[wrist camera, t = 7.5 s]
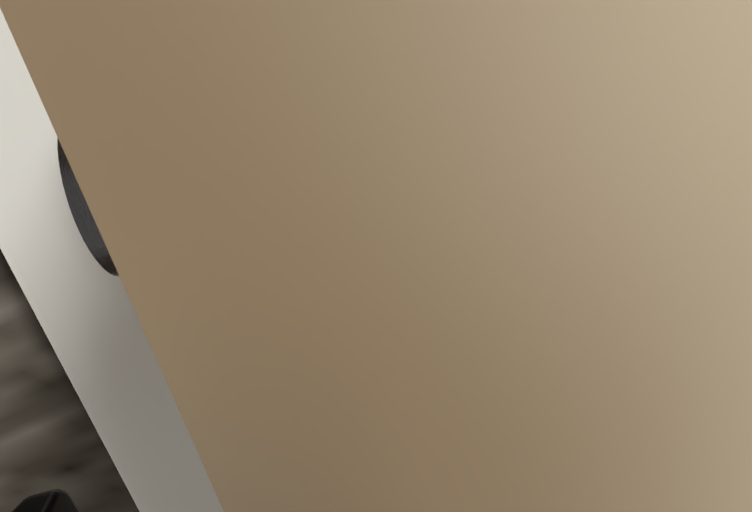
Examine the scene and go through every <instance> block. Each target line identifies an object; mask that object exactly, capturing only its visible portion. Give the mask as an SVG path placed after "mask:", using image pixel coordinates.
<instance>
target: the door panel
mask: <svg viewBox="0 0 752 512" xmlns="http://www.w3.org/2000/svg"><path fill="white" fill-rule="evenodd" d="M0 9H1V11H2V13H3V15H4V18H5V20H6V22H7V24H8V27H9V29H10V31H11V33H12V36H13V38H14V40H15V42H16V45H17V47H18V49H19V51H20V54H21V56H22V58H23V60H24V63H25V65H26V67H27V69H28V72H29V74H30V76H31V78H32V81H33V83H34V85H35V87H36V90H37V92H38V94H39V96H40V99H41V101H42V103H43V105H44V108H45V110H46V112H47V114H48V117H49V119H50V121H51V123H52V126H53V128H54V130H55V132H56V135H57V137H58V138H57V149H58V160H59V167H60V173H61V178H62V183H63V187H64V191H65V194H66V198H67V201H68V204H69V207H70V210H71V213H72V216H73V218H74V221H75V223H76V225H77V228H78V230H79V232H80V234H81V236H82V238H83V240H84V242H85V244H86V246H87V247H88V249H89V251H90V252H91V254H92V255H93V257H94V258H95V259H96V261H97V262H98V263H99V264H100V266H101V267H102V268H103V269H104V270H106V271H107V272H108V273H110V274H112V275H114V276H120V279H121V281H122V283H123V285H124V288H125V290H126V292H127V294H128V297H129V299H130V301H131V303H132V306H133V308H134V310H135V312H136V315H137V317H138V319H139V322H140V324H141V326H142V328H143V331H144V333H145V335H146V337H147V340H148V342H149V344H150V346H151V349H152V351H153V353H154V355H155V358H156V360H157V362H158V364H159V367H160V369H161V371H162V373H163V376H164V378H165V380H166V382H167V385H168V387H169V389H170V391H171V394H172V396H173V398H174V400H175V403H176V405H177V407H178V409H179V412H180V414H181V416H182V418H183V421H184V423H185V425H186V427H187V430H188V432H189V434H190V436H191V439H192V441H193V443H194V445H195V448H196V450H197V452H198V454H199V457H200V459H201V461H202V463H203V466H204V468H205V470H206V472H207V475H208V477H209V479H210V481H211V484H212V486H213V488H214V490H215V493H216V495H217V497H218V499H219V502H220V504H221V506H222V508H223V511H224V512H752V0H0Z"/></svg>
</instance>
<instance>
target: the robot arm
mask: <svg viewBox="0 0 752 512" xmlns="http://www.w3.org/2000/svg"><path fill="white" fill-rule="evenodd" d="M12 512H80V511H79V510H78V508H77V506H76V505H75V503H74V501H73V500H72V498H71V496H70V495H69V494H68V493H67V492H66V491H65V490H62V489H55V490H51V491H47V492H43V493H39V494H35V495H32V496H29V497H27V498H26V499H24V500H23V501H22V502H21V503H20V504H19V505H18V506H17V507H16V508H15V509H14V510H13V511H12Z"/></svg>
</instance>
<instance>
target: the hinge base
mask: <svg viewBox="0 0 752 512" xmlns="http://www.w3.org/2000/svg"><path fill="white" fill-rule="evenodd" d="M57 138H58V137H57V135H56V132H55V130H54V128H53V126H52V123H51V121H50V119H49V117H48V114H47V112H46V110H45V108H44V105H43V103H42V101H41V99H40V96H39V94H38V92H37V90H36V87H35V85H34V83H33V81H32V78H31V76H30V74H29V72H28V69H27V67H26V65H25V63H24V60H23V58H22V56H21V54H20V51H19V49H18V47H17V45H16V42H15V40H14V38H13V36H12V33H11V31H10V29H9V27H8V24H7V22H6V20H5V18H4V15H3V13H2V11H1V9H0V249H1V251H2V253H3V255H4V256H5V258H6V260H7V262H8V264H9V266H10V268H11V270H12V272H13V273H14V275H15V277H16V279H17V281H18V283H19V285H20V287H21V289H22V290H23V292H24V294H25V296H26V298H27V300H28V302H29V304H30V306H31V307H32V309H33V311H34V313H35V315H36V317H37V319H38V321H39V323H40V324H41V326H42V328H43V330H44V332H45V334H46V336H47V338H48V340H49V341H50V343H51V345H52V347H53V349H54V351H55V353H56V355H57V357H58V358H59V360H60V362H61V364H62V366H63V368H64V370H65V372H66V374H67V375H68V377H69V379H70V381H71V383H72V385H73V387H74V389H75V391H76V392H77V394H78V396H79V398H80V400H81V402H82V404H83V406H84V408H85V409H86V411H87V413H88V415H89V417H90V419H91V421H92V423H93V425H94V426H95V428H96V430H97V432H98V434H99V436H100V438H101V440H102V442H103V443H104V445H105V447H106V449H107V451H108V453H109V455H110V457H111V459H112V461H113V462H114V464H115V466H116V468H117V470H118V472H119V474H120V476H121V478H122V479H123V481H124V483H125V485H126V487H127V489H128V491H129V493H130V495H131V496H132V498H133V500H134V502H135V504H136V506H137V508H138V510H139V512H224V511H223V508H222V506H221V504H220V502H219V499H218V497H217V495H216V493H215V490H214V488H213V486H212V484H211V481H210V479H209V477H208V475H207V472H206V470H205V468H204V466H203V463H202V461H201V459H200V457H199V454H198V452H197V450H196V448H195V445H194V443H193V441H192V439H191V436H190V434H189V432H188V430H187V427H186V425H185V423H184V421H183V418H182V416H181V414H180V412H179V409H178V407H177V405H176V403H175V400H174V398H173V396H172V394H171V391H170V389H169V387H168V385H167V382H166V380H165V378H164V376H163V373H162V371H161V369H160V367H159V364H158V362H157V360H156V358H155V355H154V353H153V351H152V349H151V346H150V344H149V342H148V340H147V337H146V335H145V333H144V331H143V328H142V326H141V324H140V322H139V319H138V317H137V315H136V312H135V310H134V308H133V306H132V303H131V301H130V299H129V297H128V294H127V292H126V290H125V288H124V285H123V283H122V281H121V279H120V276H114V275H112V274H110V273H108V272H107V271H106V270H104V269H103V268H102V267H101V266H100V264H99V263H98V262H97V261H96V259H95V258H94V257H93V255H92V254H91V252H90V251H89V249H88V247H87V246H86V244H85V242H84V240H83V238H82V236H81V234H80V232H79V230H78V228H77V225H76V223H75V221H74V218H73V216H72V213H71V210H70V207H69V204H68V201H67V198H66V194H65V191H64V187H63V183H62V178H61V173H60V167H59V160H58V149H57Z"/></svg>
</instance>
